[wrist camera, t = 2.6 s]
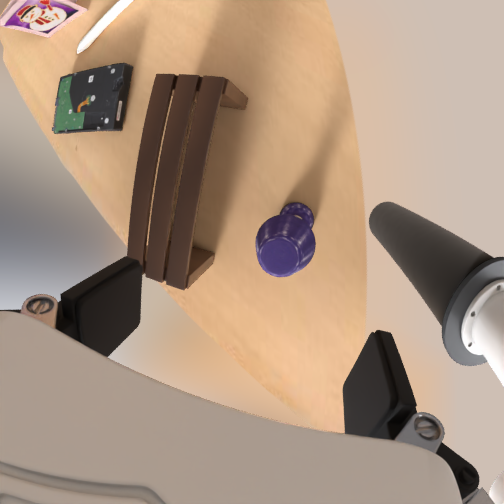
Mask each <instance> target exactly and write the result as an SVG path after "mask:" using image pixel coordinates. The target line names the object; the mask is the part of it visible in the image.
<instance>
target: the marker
mask: <svg viewBox="0 0 504 504" xmlns="http://www.w3.org/2000/svg"><path fill="white" fill-rule="evenodd" d="M133 1H134V0H119V1H118V2H117V3H116V4H115V5H114V6H113V7H112V8H111V9H110V10H109V11H108V12H107V13H106V14H105V15H104V16H103V17H102V18H101V19H100V20H99V21H98V22H97V23H96V24H95V25H94V26H93V27H92V29H91V30H90V31H89V32H88V33H87V34H86V35H85V37H84V38H83V39H82V40H81V42H80V43H79V45H78V48H77V53H80V52H82V51H84V50H86V49H87V48H88V47H89V46H90V45H91V44H92V43H93V41H94V40H95V39H96V38H97V37H98V36H99V35H100V34H101V33H102V31H103V30H104V29H105V28H106V27H107V26H108V25H109V24H110V23H111V22H112V21H113V20H114V19H115V18H116V17H117V16H118V15H119V14H120V13H121V12H122V11H123V10H124V9H125V8H126V7H127V6H128V5H130V4H131V3H132V2H133Z"/></svg>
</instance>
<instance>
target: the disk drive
mask: <svg viewBox="0 0 504 504" xmlns="http://www.w3.org/2000/svg"><path fill="white" fill-rule="evenodd" d="M132 69H133V66H131V65H129V64H126V63H119V64H118V63H117V64H112V65H108V66H103V67H99V68H94V69H90V70H85V71H81V72H77V73H73V74H68V75H66V76H63V77H61V78H60V82H59V88H58V93H57V98H56V103H55V106H56V110H55V117H54V125H53V126H54V127H52V131H54V134H62V133H76V132H93V131H122V128H123V122H124V117H125V110H126V103H127V97H128V92H129V86H130V81H131V76H132Z"/></svg>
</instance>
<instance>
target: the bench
mask: <svg viewBox="0 0 504 504" xmlns="http://www.w3.org/2000/svg"><path fill="white" fill-rule="evenodd" d="M171 96H173V99H172V104H171V108H170V112H169V117H168V121H167V126H166V130H165V135H164V140H163V145H162V151H161V156H160V162H159V167H158V173H157V180H156V186H155V193H154V200H153V207H152V215H151V223H150V232H149V241H148V245H147V246H146V244H147V234H148V225H149V216H150V208H151V201H152V194H153V187H154V180H155V174H156V168H157V162H158V157H159V151H160V146H161V141H162V136H163V131H164V126H165V121H166V117H167V112H168V108H169V104H170V100H171ZM247 100H248V98H247V97H246V96H245V95H244V94H243V93H242V92H241V91H240V90H239V89H238V88H237V87H236V86H235V85H234V84H233V83H232V82H231V81H230V80H228V79H226V78H224V77H214V76H203V77H200V76H199V75H184V74H179V76H176V75H175V74H156V77H155V81H154V85H153V89H152V93H151V97H150V101H149V105H148V109H147V114H146V119H145V123H144V128H143V133H142V138H141V144H140V149H139V155H138V161H137V168H136V174H135V181H134V189H133V197H132V205H131V214H130V225H129V237H128V252H127V257H130V258H133V259H136V260H139V262H140V265H142V267H143V271H142V275H143V274H144V273H145V274H146V277H147V278H150V279H153V280H156V281H158V282H161V283H162V282H163V281H166V284H167V285H170V286H172V287H175V288H178V289H181V290H185V289H186V288H187V289H188V288H189V287H190V286H191V285H192V284H193V283H194V282H195V281H196V280H197V279H198V278H199V277H200V276H201V275H202V274H203V273H204V272H205V271H206V270H207V269H208V268H209V267H210V266H211V265H212V264H213V260H214V254H215V253H212V252H209V251H205V250H202V249H199V248H195V247H192V243H193V237H194V230H195V225H196V219H197V213H198V207H199V202H200V196H201V191H202V186H203V181H204V175H205V170H206V165H207V161H208V156H209V151H210V146H211V142H212V137H213V133H214V128H215V124H216V119H217V115H218V111H219V107H220V106H223V107H230V108H236V109H243V110H245V108H246V104H247ZM194 103H196V108H195V112H194V116H193V121H192V125H191V130H190V134H189V139H188V144H187V149H186V154H185V159H184V164H183V169H182V175H181V180H180V186H179V192H178V198H177V204H176V210H175V217H174V224H173V231H172V238H171V240H169V235H170V228H171V220H172V214H173V207H174V201H175V194H176V188H177V183H178V177H179V171H180V166H181V161H182V155H183V150H184V145H185V141H186V136H187V131H188V127H189V122H190V118H191V113H192V109H193V105H194Z"/></svg>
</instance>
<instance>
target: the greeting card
mask: <svg viewBox="0 0 504 504" xmlns="http://www.w3.org/2000/svg"><path fill="white" fill-rule="evenodd" d="M76 2H77V0H11V1H10V3H9V4H8V6H7V7H6V9H5V10H4V12H3V14H2V15H1V17H0V26H2V27H7V28H12V29H16V30H21V31H25V32H29V33H33V34H37V35H41V36H45V37H48V38H49V37H51V36H52V35H53V34H55V33H56V32H57V31H58V30H60V29H61V28H63V27H64V26H65V25H67V24H68V23H69V22H71V21H72V20H74V19H75V18H77V17H78V16H80V15H81V14H83V13H84V12H86V11H87V10H88V9H86V8H83V7H81V6H79V5H77V4H75V3H76Z"/></svg>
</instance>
